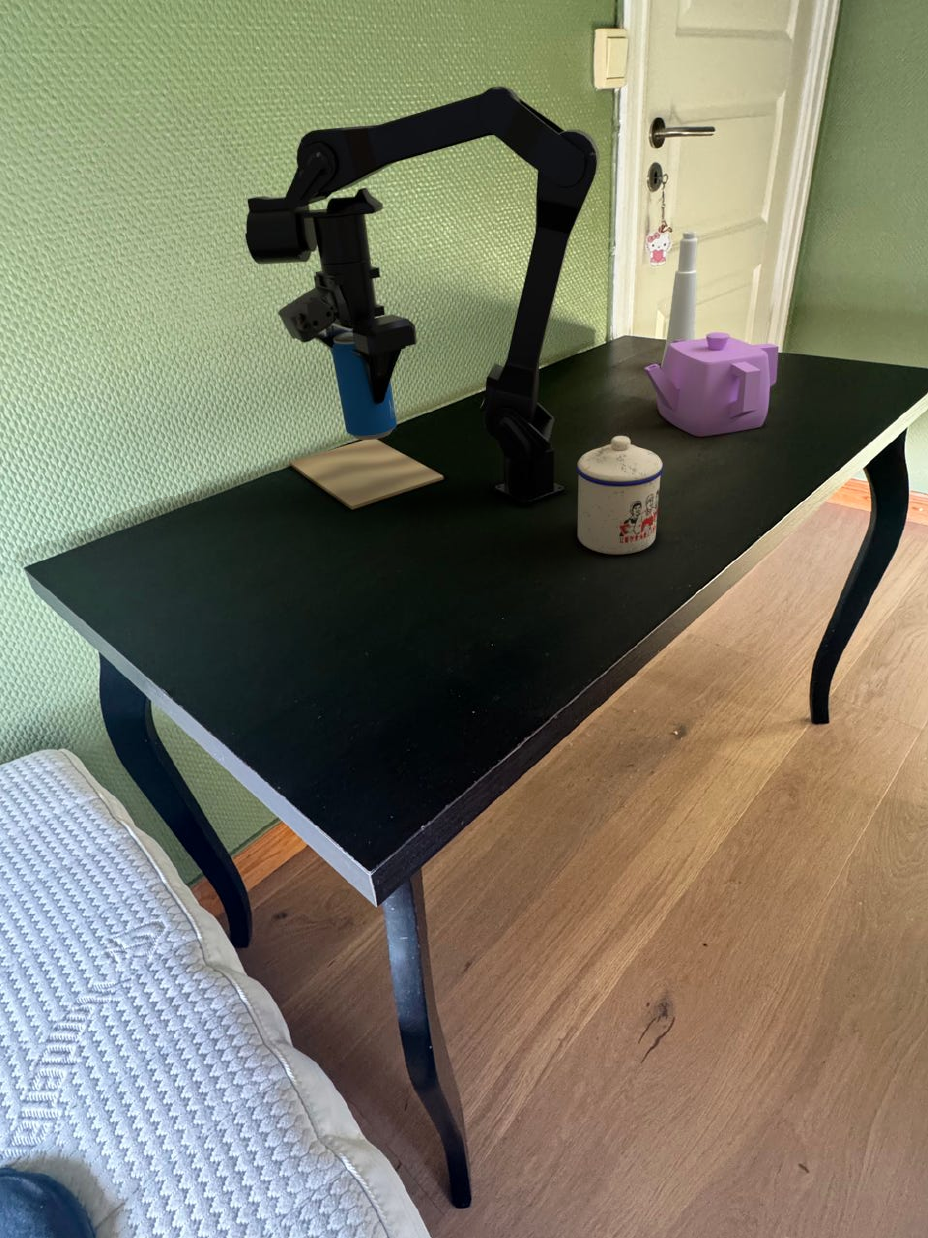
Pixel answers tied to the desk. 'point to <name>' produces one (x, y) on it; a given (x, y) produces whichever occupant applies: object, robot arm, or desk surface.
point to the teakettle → (715, 384)
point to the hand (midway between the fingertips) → (365, 396)
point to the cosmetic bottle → (684, 293)
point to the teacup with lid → (618, 497)
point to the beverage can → (360, 394)
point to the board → (365, 472)
